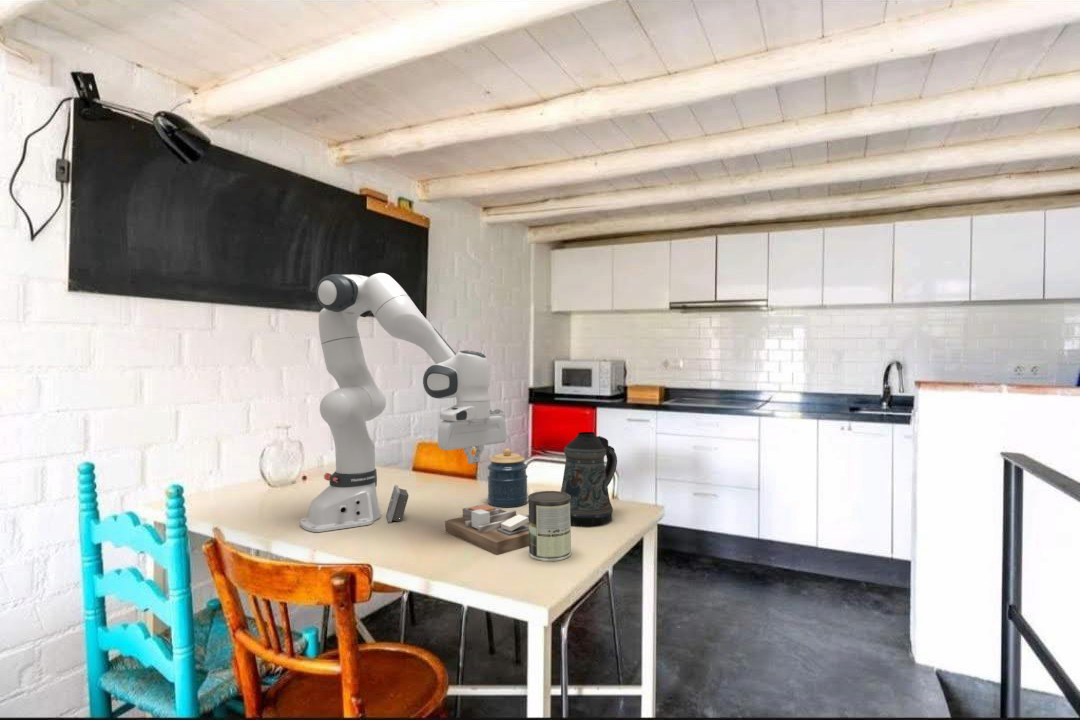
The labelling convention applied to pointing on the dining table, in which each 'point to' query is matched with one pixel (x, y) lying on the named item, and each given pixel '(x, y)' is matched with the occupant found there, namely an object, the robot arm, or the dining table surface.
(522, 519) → the rocker switch
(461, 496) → the dining table surface
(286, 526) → the dining table surface
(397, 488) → the electrical switch
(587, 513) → the beer stein
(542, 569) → the dining table surface
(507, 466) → the canister
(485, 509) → the push button
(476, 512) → the block
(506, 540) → the control panel
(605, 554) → the dining table surface
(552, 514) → the coffee can
